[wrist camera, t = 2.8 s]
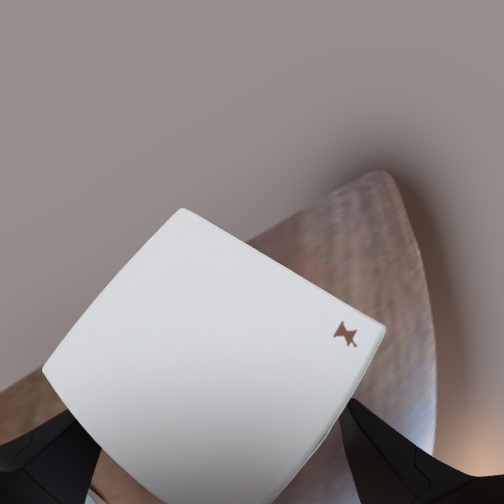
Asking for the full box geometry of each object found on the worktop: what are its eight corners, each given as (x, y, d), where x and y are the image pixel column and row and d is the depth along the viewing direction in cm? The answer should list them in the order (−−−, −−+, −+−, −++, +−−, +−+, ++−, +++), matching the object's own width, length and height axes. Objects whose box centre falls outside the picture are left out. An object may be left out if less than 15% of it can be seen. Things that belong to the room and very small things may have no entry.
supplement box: (225, 316, 19) (185, 195, 8) (311, 374, 17) (400, 325, 6) (161, 393, 16) (33, 365, 5) (247, 458, 14) (230, 550, 3)
